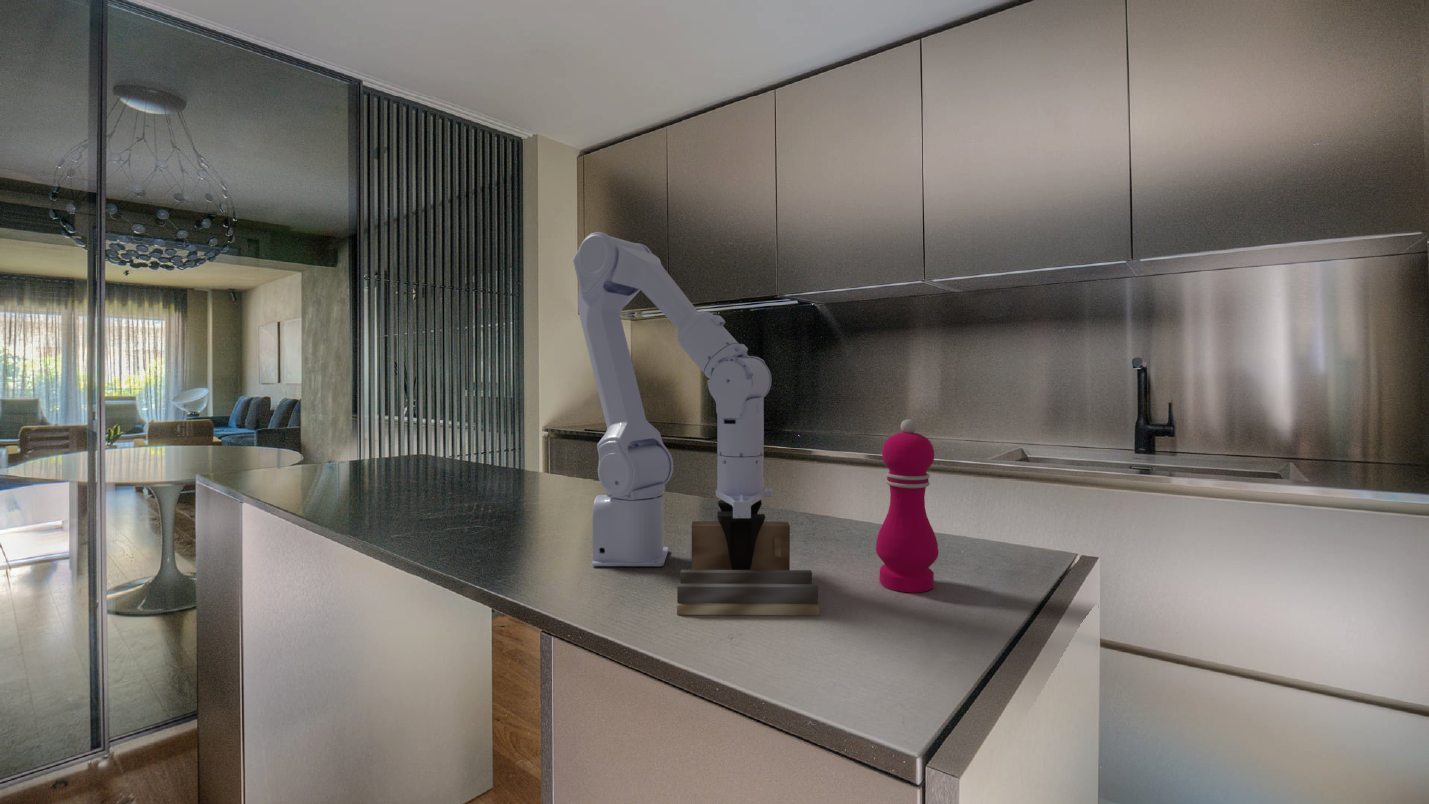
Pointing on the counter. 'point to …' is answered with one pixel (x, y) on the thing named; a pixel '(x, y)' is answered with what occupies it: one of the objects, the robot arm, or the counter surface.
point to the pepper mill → (907, 514)
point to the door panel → (714, 549)
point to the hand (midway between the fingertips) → (740, 563)
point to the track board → (747, 592)
